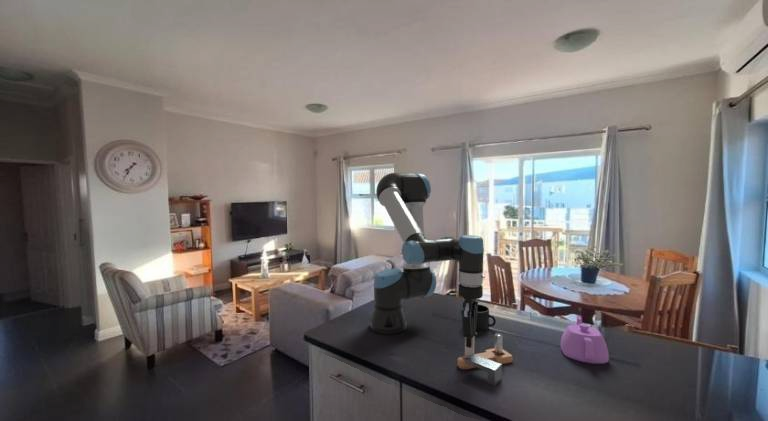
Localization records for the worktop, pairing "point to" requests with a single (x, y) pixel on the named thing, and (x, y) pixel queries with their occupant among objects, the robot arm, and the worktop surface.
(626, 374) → the worktop surface
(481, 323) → the mug
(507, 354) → the link
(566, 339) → the teapot
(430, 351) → the worktop surface
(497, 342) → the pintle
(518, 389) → the worktop surface
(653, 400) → the worktop surface
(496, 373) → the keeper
